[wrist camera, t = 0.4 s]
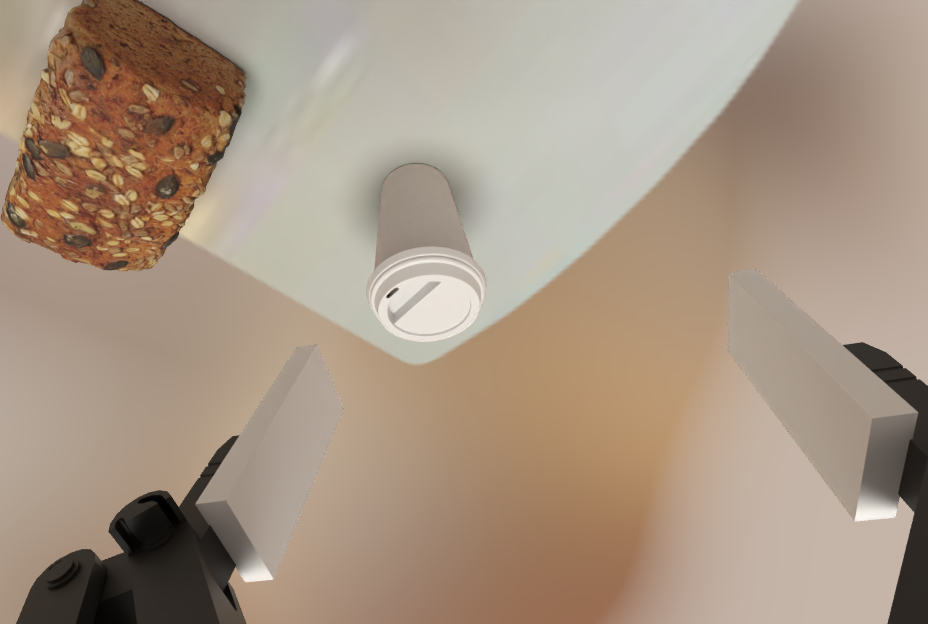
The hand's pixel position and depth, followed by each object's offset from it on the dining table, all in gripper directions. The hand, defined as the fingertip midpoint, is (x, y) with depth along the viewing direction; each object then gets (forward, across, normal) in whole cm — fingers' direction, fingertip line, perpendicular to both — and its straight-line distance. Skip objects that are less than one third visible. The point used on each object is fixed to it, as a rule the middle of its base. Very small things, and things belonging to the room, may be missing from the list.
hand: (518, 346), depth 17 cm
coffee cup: (+35, -9, -2) cm, 36 cm away
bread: (+28, -28, +9) cm, 40 cm away
